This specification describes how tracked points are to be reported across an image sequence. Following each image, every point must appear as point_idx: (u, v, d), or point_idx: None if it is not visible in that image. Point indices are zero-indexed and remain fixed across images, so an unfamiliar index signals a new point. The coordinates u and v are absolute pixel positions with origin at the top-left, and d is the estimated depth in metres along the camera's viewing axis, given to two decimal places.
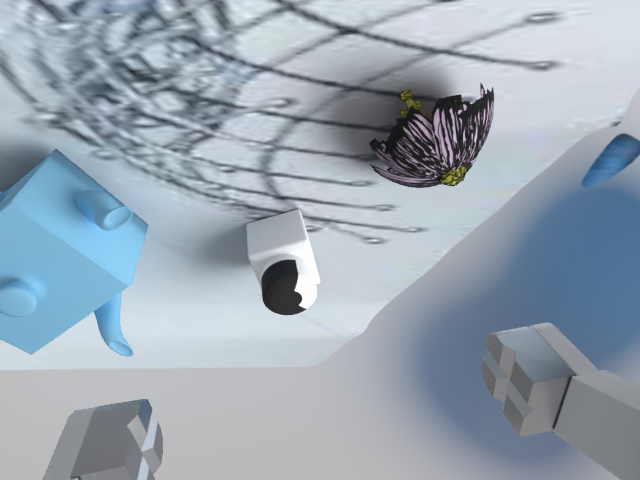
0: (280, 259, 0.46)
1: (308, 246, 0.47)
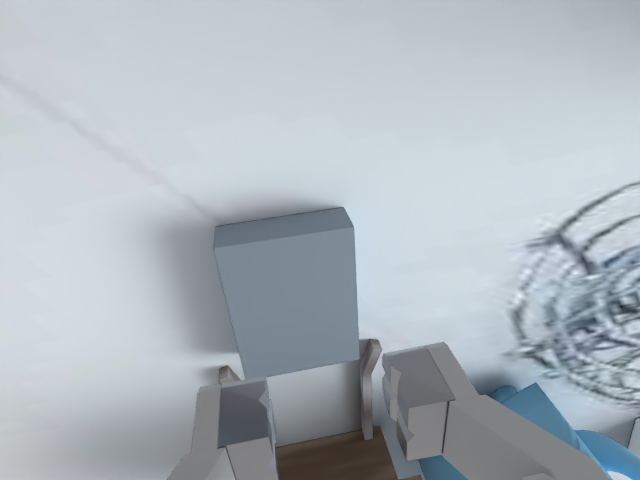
0: None
1: None
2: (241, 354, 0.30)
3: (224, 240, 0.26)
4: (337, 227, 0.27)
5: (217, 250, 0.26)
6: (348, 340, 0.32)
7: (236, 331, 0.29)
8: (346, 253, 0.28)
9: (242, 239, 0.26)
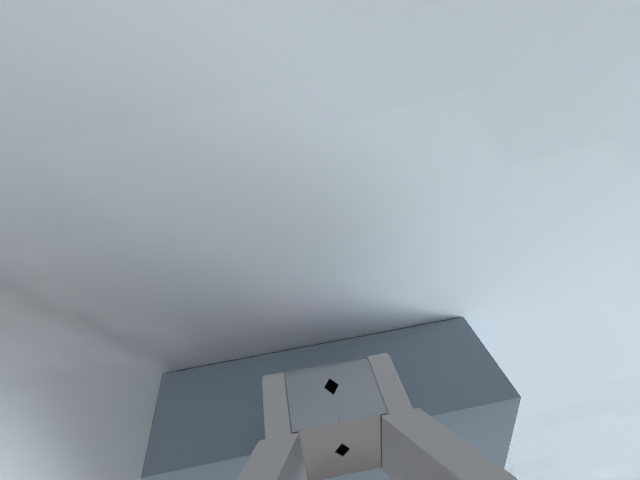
0: None
1: None
2: None
3: (177, 439, 0.10)
4: (475, 399, 0.10)
5: None
6: None
7: None
8: (487, 449, 0.11)
9: (224, 437, 0.10)
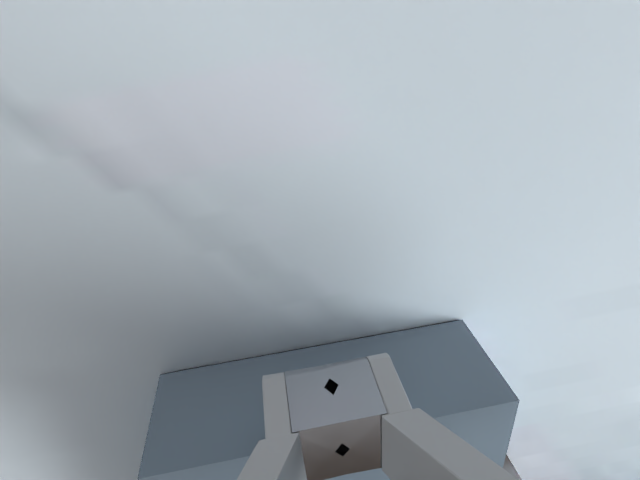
0: None
1: None
2: None
3: (174, 440, 0.10)
4: (473, 402, 0.10)
5: None
6: None
7: None
8: (485, 452, 0.11)
9: (221, 438, 0.10)
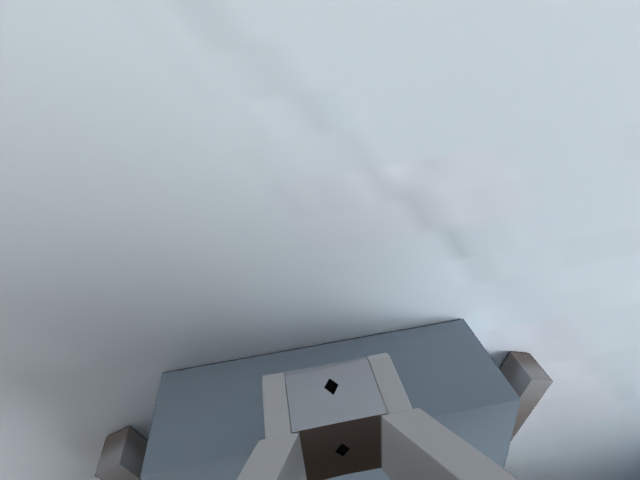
0: None
1: None
2: None
3: (176, 438, 0.10)
4: (475, 401, 0.10)
5: (153, 479, 0.09)
6: None
7: None
8: (487, 451, 0.11)
9: (224, 436, 0.10)
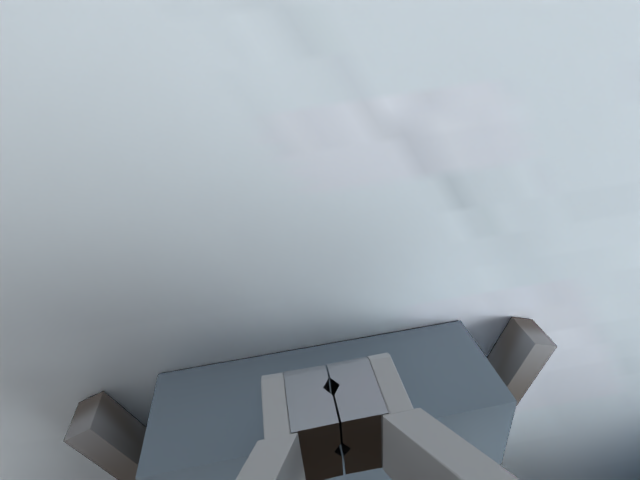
0: None
1: None
2: None
3: (172, 440, 0.10)
4: (471, 403, 0.10)
5: None
6: None
7: None
8: None
9: (219, 438, 0.10)
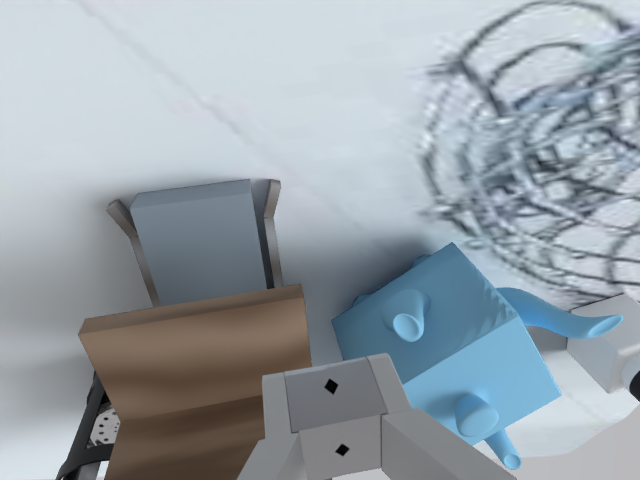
0: None
1: None
2: (163, 305, 0.35)
3: (141, 203, 0.32)
4: (236, 193, 0.32)
5: (133, 210, 0.31)
6: None
7: (156, 284, 0.34)
8: (246, 216, 0.33)
9: (155, 202, 0.31)
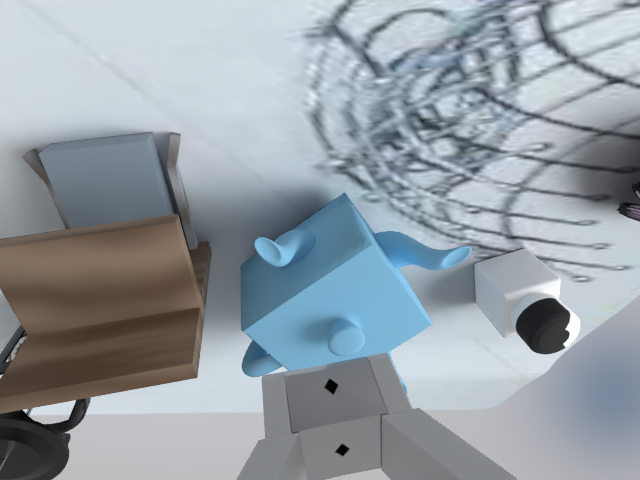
0: (540, 297, 0.46)
1: (559, 284, 0.48)
2: None
3: (50, 150, 0.36)
4: (134, 141, 0.36)
5: (41, 155, 0.35)
6: None
7: (71, 224, 0.39)
8: (145, 162, 0.37)
9: (63, 149, 0.36)
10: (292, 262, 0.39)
